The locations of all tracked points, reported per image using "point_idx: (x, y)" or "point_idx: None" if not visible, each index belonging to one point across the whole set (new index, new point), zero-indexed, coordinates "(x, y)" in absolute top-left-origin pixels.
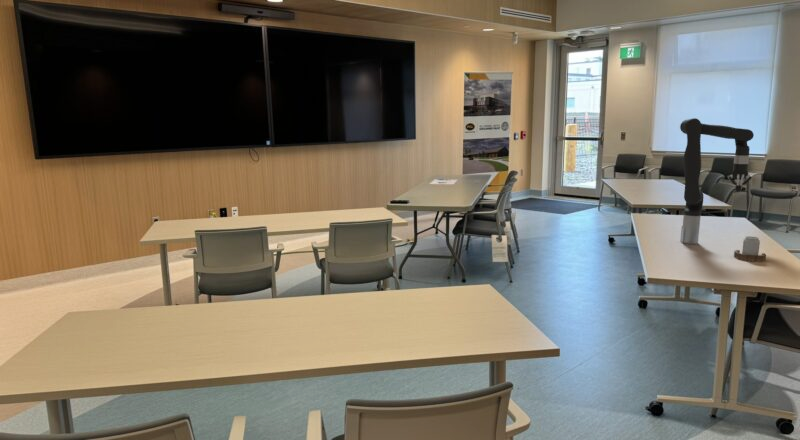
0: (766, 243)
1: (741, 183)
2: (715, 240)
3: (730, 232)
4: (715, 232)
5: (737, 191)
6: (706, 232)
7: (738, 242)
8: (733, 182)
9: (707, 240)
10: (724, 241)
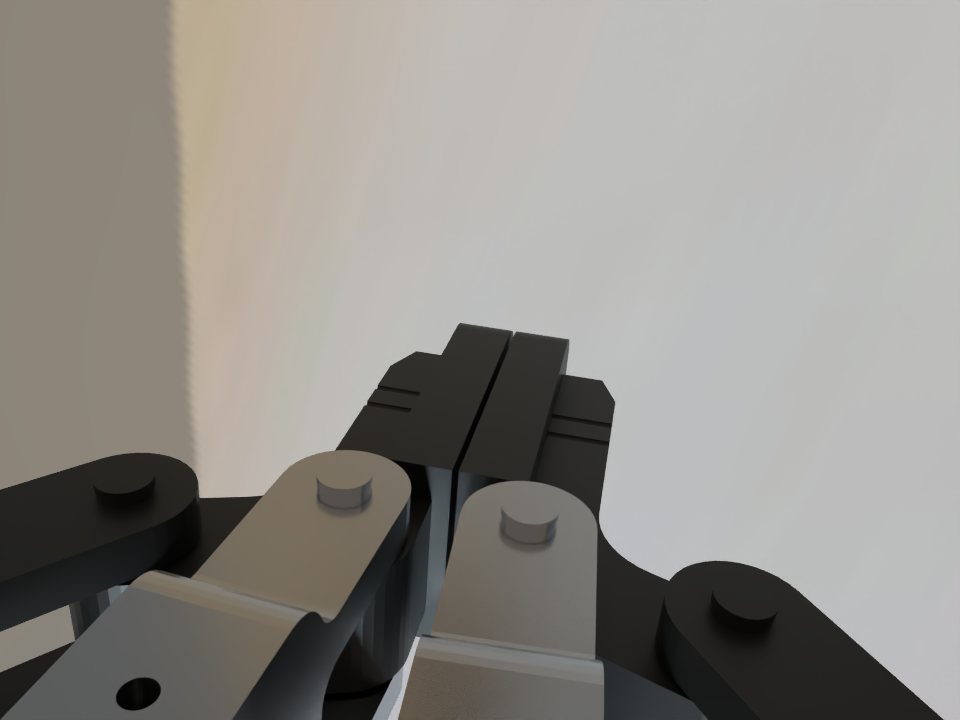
0: (237, 70)
1: (287, 529)
2: (819, 142)
3: None
4: None
5: (550, 337)
6: None
7: (554, 63)
8: (819, 681)
9: (941, 121)
10: (719, 95)
